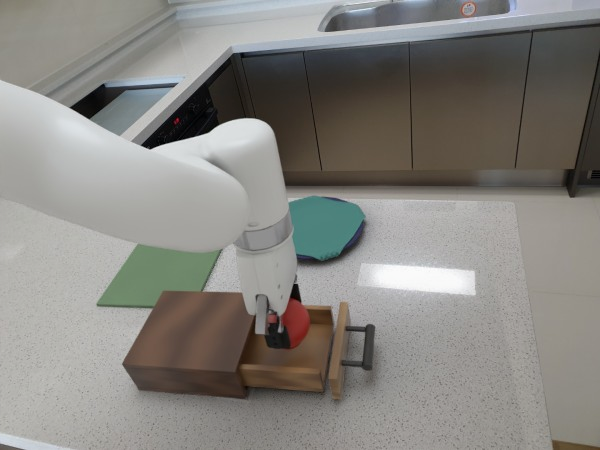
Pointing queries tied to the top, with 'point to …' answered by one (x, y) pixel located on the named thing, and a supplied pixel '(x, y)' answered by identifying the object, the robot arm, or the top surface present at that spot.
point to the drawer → (307, 355)
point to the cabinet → (192, 345)
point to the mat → (157, 276)
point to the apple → (294, 322)
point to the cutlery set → (324, 226)
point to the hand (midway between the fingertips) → (285, 323)
